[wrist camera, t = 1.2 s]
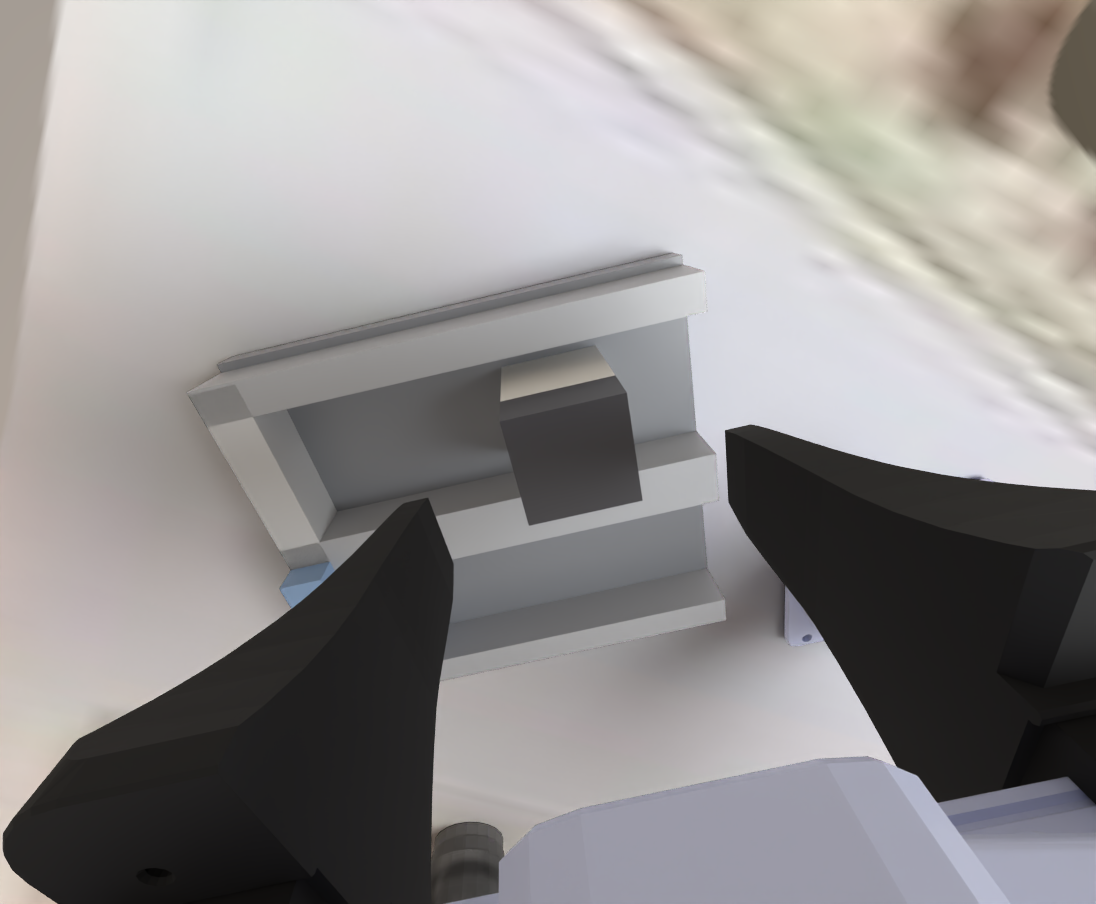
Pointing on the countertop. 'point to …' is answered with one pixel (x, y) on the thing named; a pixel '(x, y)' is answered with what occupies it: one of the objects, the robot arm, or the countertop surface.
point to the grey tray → (485, 460)
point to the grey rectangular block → (568, 435)
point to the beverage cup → (465, 862)
